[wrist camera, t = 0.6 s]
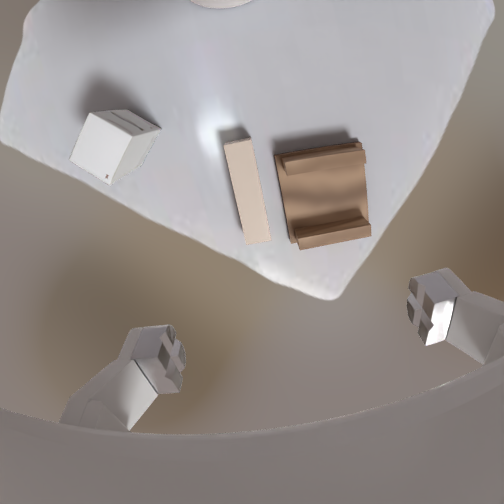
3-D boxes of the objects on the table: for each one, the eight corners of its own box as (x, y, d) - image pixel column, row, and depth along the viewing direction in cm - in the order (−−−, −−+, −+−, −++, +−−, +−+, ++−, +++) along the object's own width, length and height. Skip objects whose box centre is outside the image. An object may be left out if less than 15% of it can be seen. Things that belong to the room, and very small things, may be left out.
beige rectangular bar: (225, 142, 44) (223, 145, 40) (251, 137, 43) (251, 139, 40) (246, 234, 51) (246, 244, 47) (269, 230, 51) (271, 240, 47)
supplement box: (163, 128, 42) (134, 137, 31) (141, 167, 45) (109, 188, 34) (127, 107, 40) (89, 110, 29) (106, 146, 43) (66, 161, 32)
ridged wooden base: (274, 155, 44) (277, 160, 40) (359, 141, 43) (370, 146, 39) (290, 240, 51) (294, 254, 47) (366, 225, 50) (376, 237, 45)
